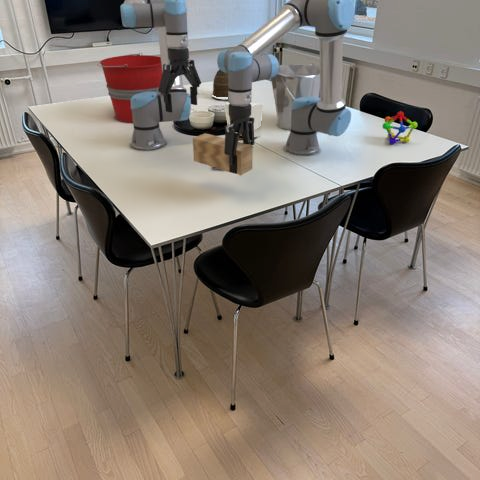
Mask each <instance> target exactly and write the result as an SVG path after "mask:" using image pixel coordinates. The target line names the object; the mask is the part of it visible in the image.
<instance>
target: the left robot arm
mask: <svg viewBox="0 0 480 480" xmlns="http://www.w3.org/2000/svg"><path fill="white" fill-rule="evenodd" d="M119 9H120V17H121V23H122V27H124V28H131V29H134V28H154V29H156V30H157V37H158V45H159V54H160V55H159V57H161V65H162V77H161V81H160V85H159V90H158V92H160V93H161V95H157V94H156V92H153V91H152V92H150V91H148V92H142V93H138V94H136V95H134V96H132V98H131V109H132V117H133V123H132V125H133V132H132V135H131V142H130V143H131V147H132V148H134V149H135V150H141V151H151V150H153V151H154V150H157V149H161V148H163V147H164V146H165V144H166V140H165V137H164V135H163V132H162V130H161V127H160V123H165V122H166V123H167V122H181V121H188V120H189V118H190V115H191V108H192V105H193V106H197V105H198V93H199V92H198V88H200V85H201V84H202V81H201V78H200V76H199V73H198V70H197V68H196V66H195V60H194V59H190V49H189V48H188V46H189V33H188V12H187V11H188V7H187V1H186V0H124V1H123V3H122V4H121V5H120V8H119ZM183 76H184V77H185V79H186V80H187V82H188V83H189V84H190V87H189V92H187V91H188V90H187V89H186V87H185V86H184V84H183Z"/></svg>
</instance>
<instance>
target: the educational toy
mask: <svg viewBox="0 0 480 480" xmlns="http://www.w3.org/2000/svg"><path fill="white" fill-rule="evenodd" d="M397 119H399V124H400V125H399V127H398V126H393V125H391V124H392V123H394V122H395V121H396V120H397ZM403 120H404V121H405V122H407V123H408V124H409V125H407V126H404V123H403ZM417 127H418V122H417V121H411V120H410V119H409V118H408V117H406V116H405V113H404V112H403V111H401V110H400V111H398V112H397V114H396V115H394V116H391V117H390V116H386V117H385V118H384V122H383V123H382V129H383V130H386V132H387V138H388V142H389V145H395V144H396V143H397V142H402V141H403V142H404V143H409V142H410V140H411V138H410V136H411V134H412V132H413V131H414V130H415V129H417ZM392 129H393V130H397V131H398V132H396V134H395V133H394V132H392ZM408 129H409V131H408V133H407V134H406V135H404V136H401V134H403V133H405V132H406V130H408ZM399 135H400V136H399Z"/></svg>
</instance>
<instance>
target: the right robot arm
mask: <svg viewBox="0 0 480 480" xmlns="http://www.w3.org/2000/svg"><path fill="white" fill-rule="evenodd" d="M355 13H356V12H355V4H354V1H353V0H288V2H286V3H285V4H283V5H282V6H281V7H280V9H279V12H278V13H277V14H275V15H274V16H273V17H272V18H271V19H269V20H268V21H267V22H266V23H264V24H263V25H261V26H260V27H259V28H258V29H256V30H255V31H254V32H253V33H252V34H250V35H249V36H248V37H247V38H246V39H244V40H243V41H242V42H240V43H239V44H238V45H237V46H235V47H233V49H222V50H221V51H220V52H219V54H218V55H217V57H216V63H217V67H218V70H219V69H220V70H221V71H223V72H225V73H228V87H229V88H228V89H229V90H228V100H227V102H228V116H230V122H229V124H228V125H224V134H225V135H224V138H225V150H224V154H225V155H229V168H230V172H229V173H232V174H234V175H237V174H236V173H237V155H235V154H236V149H237V144H238V142H239V140H240V137H241V139H242V143H245V144H249V145H252V146H255V125H254V124H255V117H252V104H251V103H252V90H253V83H257V82H260V81H261V82H262V81H266V80H271V78H272V77H274V76H276V74H277V73H278V70H279V65H280V63H279V60H278V58H277V57H276V56H275V55H274V54H271V53H269V54H267V53H266V52H267V51H268V50H270V49H271V48H272V47H273V46H274V45H276V44H277V43H278V42H280V40H282V39H283V38H284V37H285V36H287V35H288V34H289V33H290V32H295V31H297V30H298V29H299V28H302V27H311V28H312V27H313V28H314V35H315V37H317V38H318V39H319V67H320V99H319V98H318V97H302V98H297V99H295V100H294V101H293V104H292V109H291V110H292V112H291V130H289V131H290V132H289V135H288V137H287V140H286V142H285V145H284V146H285V147H284V149H285V151H286V152H288V153H290V154H292V155H297V156H311V155H314V154H317V153H318V152H319V150H320V144H319V140H318V136H317V135H318V134H317V132H318V133H321V134H325V135H328V136H330V137H331V136H332V137H340V136H341V135H343V134H344V133H345V132H346V131H347V129H348V128H349V125H350V123H351V121H352V112H351V110H350V109H348V108H346V103H347V102H346V100H345V99H344V98H343V57H344V56H343V55H344V54H343V51H344V47H343V46H344V36H345V35H346V34H347V33H348V29H349V28H350V27H351V26H352V25H353V22H354V21H353V20H354V19H355ZM264 53H265V54H264Z"/></svg>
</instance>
